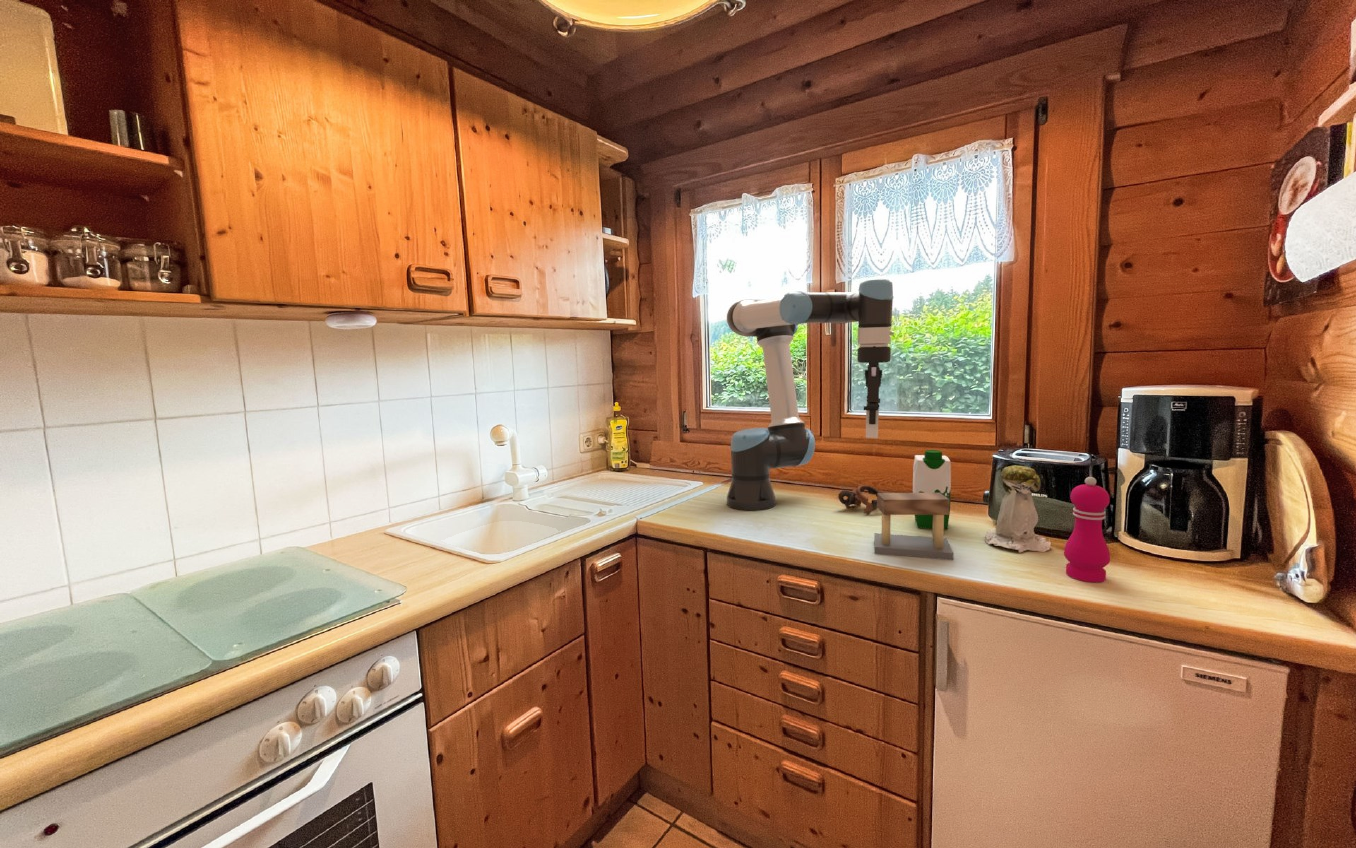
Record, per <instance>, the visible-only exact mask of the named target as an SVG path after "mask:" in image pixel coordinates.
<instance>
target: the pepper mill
mask: <svg viewBox="0 0 1356 848" xmlns="http://www.w3.org/2000/svg"><path fill="white" fill-rule="evenodd" d="M1084 483H1085V484H1080V485H1079V484H1078V485H1076V486H1075V487H1073V489H1072V490H1071V492H1070V496H1069V497H1070V501H1071V504H1073V505H1074V507H1073V508H1072V510H1073V512H1072V515H1073V516H1074V521H1075V522H1074V526H1073V527H1074V529H1073V531H1072V532H1071V535H1070V536H1069V538H1068V539H1067V541H1066V543H1065V546H1064V549H1063V550H1064V551H1063V556H1064V557H1065V558H1066V560H1067V561H1068V563H1066V564H1065V574H1066V575H1068V577H1069V578H1072V579H1075V580H1077V581H1082V582H1086V583H1103V582H1105V581H1106V579H1107V571H1106V569H1105V567H1107V566H1108V565H1109V564H1110V562H1111V553H1110V549H1109V547H1108V544H1107V541H1106V540H1105V537H1104V534H1103V520H1105V519H1106V511H1105V509H1106V508H1107V507H1108V506H1110V505H1109V504H1110V494H1109V493H1108V491H1107V490H1106V488H1103V487H1101V486H1100V485H1097V479H1096V478H1095V477H1093V476H1088V477H1086V478H1085V479H1084Z"/></svg>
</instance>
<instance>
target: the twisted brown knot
mask: <svg viewBox="0 0 1356 848" xmlns="http://www.w3.org/2000/svg"><path fill="white" fill-rule="evenodd" d="M865 490H866V491H867V493H868V495H869V494H870V495H874V496H875V497H877V493H880V492H879V491H878V490H877V489H876V488H874V487H872V486H870V485H865V484H861V485H858V486H857V488H854V489H853V490H851V491H849V490H848V489H845V490H844V489H843V490H842V491H840V492H839V493H838V495H837V498H838V500H839V502H840V503H841V504H842V505H844V506H845V509H850V506H853V505H855V506H858V505H860V506H861V504H863V505H865V509H864V510H863V512H864V514H867V515H870V514H871V513H872V511H873V512H874V511H876V510H879V509H878V508H877V499H872V500H871V502H869V498H868V497H867V496H866V495H864V494H863V492H865ZM844 497H846V499H845V498H844Z"/></svg>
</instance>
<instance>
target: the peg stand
mask: <svg viewBox="0 0 1356 848" xmlns="http://www.w3.org/2000/svg"><path fill="white" fill-rule="evenodd" d="M891 516H892V515H884V514H883V513H882V512H881V533H877V532H876V533H875V532H874V534H873V535H874V538H873V539H874V554H876V555H877V554H879V555H890V556H892V555H893V556H901V557H902V556H903V557H911V558H912V557H914V558H926V559H928V558H929V559H938V560H949V561H950V560H951V561H953V560H954V553H953V550H952V547H951V544H950V542H949V539H948V538H947V537H946V538H945V537H944V532H945V531H944V515H933V529H932V537H931V536H922V535H921V536H919V535H908V534H906V535H903V534H891Z"/></svg>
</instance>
